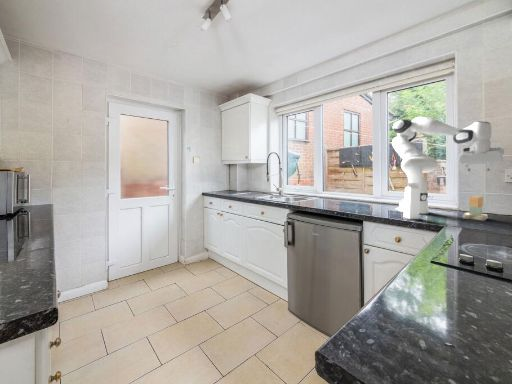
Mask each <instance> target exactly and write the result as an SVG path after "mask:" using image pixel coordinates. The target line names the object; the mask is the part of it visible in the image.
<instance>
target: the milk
mask: <svg viewBox="0 0 512 384" xmlns="http://www.w3.org/2000/svg"><path fill="white" fill-rule="evenodd" d="M403 195H404V197H403V199H404V212H403V216H402V217H403V218H404V217H405V219H408V220H419V219H420V213H419V206H420V187H418V186H417V183H409V182H408V183H407V186H405V187H404V194H403Z"/></svg>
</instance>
